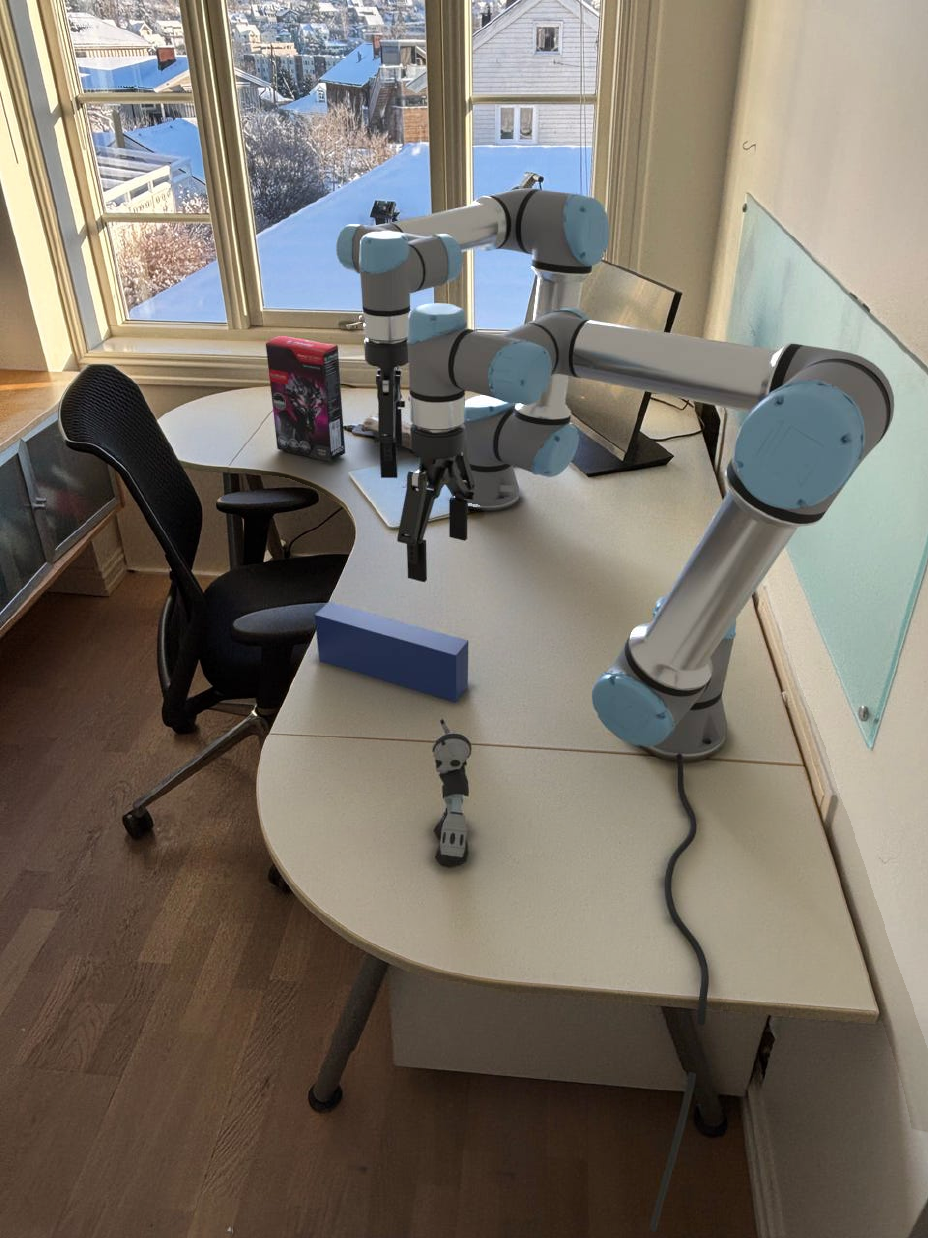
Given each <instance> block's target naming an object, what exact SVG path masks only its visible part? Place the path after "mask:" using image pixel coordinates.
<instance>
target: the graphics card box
mask: <svg viewBox="0 0 928 1238" xmlns="http://www.w3.org/2000/svg"><path fill="white" fill-rule="evenodd" d="M265 351H266V359H267V368H268V379H269V385H270V395H271V403H272V405H271V406H272V413H273V422H274V430H275V440H276V441H275V442H276V450H280V451H284V452H288V453H291V454H296V455H301V456H305V457H310V458H312V459H313V458H314V459H317V460H322V461H327V462H334V460H336V459H338V458H340V457H341V456H343V455H345V454H346V444H345V442H346V441H345V428H344V415H343V401H342V388H341V373H340V357H339V346H338V344H331V343H324V342H319V341H314V340H309V339H304V338H298V337H293V336H287V335H278V336H275V337H273V338H271V339H270V340H268V341H267V342H265Z"/></svg>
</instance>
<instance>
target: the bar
mask: <svg viewBox="0 0 928 1238" xmlns="http://www.w3.org/2000/svg"><path fill="white" fill-rule="evenodd" d="M314 621H315V633H316V643H317V652H318V661H319V662H323V663H326V664H329V665H332V666H335V667H338V668H342V669H345V670H348V671H351V672H355V673H358V674H361V675H365V676H368V677H371V678H375V679H377V680H381V681H384V682H387V683H391V684H394V685H397V686H401V687H403V688H406V689H410V690H413V691H416V692H420V693H423V694H426V695H429V696H433V697H436V698H439V699H443V700H446V701H450V702H452V703H457V702H458V701H459V699H460V698H462V695H463V694H465V693H464V692H465V691H466V690H467V689H468V687H469V639H466V638H465V639H464V638H461V637H457V636H454V635H451V634H446V633H444V632H440V631H435V630H433V629H430V628H426V627H421V626H418V625H415V624H414V625H413V624H411V623H408V622H403V621H400V620H396V619H393V618H390V617H387V616H382V615H379V614H376V613H371V612H368V611H364V610H361V609H357V608H353V607H350V606H347V605H342V604H340V603H335V602H333V601H328V602H327V603H326V604H325V605H324V606H323V607H322V608H320V609H319V610H318V611H317V612H316V613H315V614H314Z"/></svg>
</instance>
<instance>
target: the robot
mask: <svg viewBox="0 0 928 1238" xmlns="http://www.w3.org/2000/svg"><path fill="white" fill-rule="evenodd" d="M439 722H440V725H441V727H442V730H443V733H444V734H442V735H441V736H439V737H438V738H437V739H436V740H435V741H434V742H433V745H432V747H431V752H432V757H433V758H434V761H435V771H436V772H437V773H439V774H438V776H439V779H440V781H441V783H442V785H441V792H442V794H441V795H442V799H443V801H444V802H445V805H446V807H445V808H444V812H443V813H442V816H441V819H440V820H439V821H438V823H437V824H435V826H434V828H433V833H434V834H435V836H436V838H437V839H438V840H439V841H440V842H439V845H438V848H437V849H436V852H435V855H434V859H435V860H436V861H437V862H438V863H439V865H441V866H443V867H447V868H453V867H457V866H459V865H461V864H463V863H466V862H467V859H468V856H469V854H470V853H469V844H468V840H467V837H468V823H467V818H466V815H464V813H463V810H462V806H463V804H464V798H463V797H469V795H470V794H469V793H470V788H469V787H470V786H469V779H468V776H467V774H466V766H467V765H468V762H467V760H468V759H469V758H470V757H471V755H472V749H473V748H472V743H471V741H470V739H468V738H467V736H465V735H464V734H462V733H460V732H457V731H450V729H449V727H448V725H447V723H446V722H445V720H444V719H443V718H441V719H440V720H439Z"/></svg>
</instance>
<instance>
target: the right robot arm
mask: <svg viewBox="0 0 928 1238" xmlns="http://www.w3.org/2000/svg"><path fill="white" fill-rule="evenodd" d="M467 326H468V322H467V317H466V311H465V310H464V309H463V308H461V307H459V306H458V305H457V304H456V305H455V304H452V303H444V302H439V303H438V302H436V303H435V302H434V303H425V304H422V305H419V306H416V307H414V308H413V309H412V310H411V312H410V314H409V318H408V340H407V347H408V362H409V363H408V376H409V386H408V388H409V390H408V391H409V395H408V396H407V400H408V402H409V421H410V422H411V424H410V425H411V426H410V445H411V449H410V450H411V452H412V453H413V454H414V455H416V456H417V458H418V459H419V465H418V468H417V469H418V470H417V471H415V470H408V472H407V475H406V490H405V496H404V501H403V506H402V510H401V516H400V522H399V528H398V533H397V537H396V540H397V542H398V543H402V544H405V545H406V561H407V562H406V564H407V567H406V568H407V579H410V580H414V581H417V582H422V583H426V581H427V580H428V569H427V568H428V567H427V565H428V564H427V562H428V561H427V559H428V558H427V540H426V539H424V537H425V533H426V530H427V527H428V524H429V520H430V517H431V513H432V511H433V508H434V504H435V500H436V499H438V498H439V497H440V495H441V491H442V489H443V487H444V486H446V487H447V490H448V491H449V492H450V494H451V495H453V496H455V498H453V497H452V496H451V497H450V498H449V500H448V501H449V503H448V505H449V507H448V508H449V509H448V510H449V511H448V513H449V515H448V516H449V517H448V518H449V519H448V521H449V522H448V523H449V527H448V528H449V529H448V530H449V531H448V535H449V538H452V539H456V540H460V541H465V542H466V541H467V540H468V510H469V509H468V501H467V499H469V500H473V499H474V492H470V490H474V488H475V483H474V479H473V475H472V472H471V468H470V464H469V460H468V457H467V451H466V441H465V426H464V424H463V423H464V421H465V402H466V391H467V392H471V393H475V394H478V395H480V396H481V395H485V396H488V397H492V398H495V399H498V400H501V401H503V402H507V403H516V405H517V404H523V405H530V404H533V403H535V402H537V401H538V400H539V399H540V398H541V395H542V393H544V392H545V391H546V389H547V387H548V385H549V382H550V378H551V376H552V375H554V374H562V375H567V376H569V377H572V378H576V379H584V380H588V381H594V382H597V383H598V382H599V383H604V384H609V385H613V386H618V387H623V388H628V389H633V390H638V391H643V392H647V393H653V394H658V395H662V396H666V397H672V398H677V399H682V400H687V401H690V402H696V403H701V404H706V405H710V406H715V407H721V408H725V409H731V410H735V411H740V412H745V413H748V414H747V415H746V417H745V418H744V420H743V422H742V424H741V425H740V428H739V430H738V432H737V435H736V439H735V442H734V451H733V452H734V453H733V454H732V457H731V459H730V461H729V462H728V464H727V465H726V467H725V471H724V476H725V480H726V483H727V485H728V487H729V489H728V491H727V493H726V494H725V496H724V498H723V500H722V501H721V503H720V505H719V506H718V508H717V510H716V511H715V513H714V514H713V517H712V518H711V520H710V522H709V523H708V525H707V527H706V529H705V530H704V531H703V533H702V535H701V537H700V538H699V540H698V542H697V543H696V545H695V547H694V549H693V550H692V552H691V554H690V555H689V556H688V559H687V560H686V562H685V564H684V565H683V568H682V569H681V571H680V572H679V574H678V576H677V577H676V579H675V581H674V582H673V584H672V586H671V587H670V589H669V591H668V593H667V594H663V595H662V596H661V597H659V598H658V599H657V600H656V602H655V605H654V608H653V609H652V620H651V621H647V622H643V623H641V624H638V625H637V626H636V627H634V629H633V630H632V631H631V632H630V634H629V636H628V638H627V639H626V641H625V643H624V645H623V647H622V648H621V650H620V651H619V652H618V653H619V654H618V655H617V656H616V658H615V660H614V661H613V663H612V664H611V665H610V666H609V668H608V669H607V670H606V671H604V672H603V673H602V674H600V675H599V677H598V679H597V681H596V682H595V684H594V685H593V688H592V691H591V702H592V707H593V709H594V711H595V712H596V713H597V718H598V719H599V721H600V722H601V723H602V725H603V726H604V727H605V728H606V729H607V730H608V731H609V732H610V733H612V734H613V735H614V736H615V737H617V738H618V739H620V740H621V741H623V742H626V743H628V744H630V745H633V746H638V747H639V748H640V749H641V750H643V751H645V752H646V753H648V754H650V755H651V756H654V757H656V758H659V759H662V760H666V761H670V762H675V763H676V768H677V769H676V770H677V791H678V795H679V799H680V801H681V804H682V806H683V808H684V810H685V811H686V814H687V816H688V818H689V823H690V827H689V832H688V834H687V836H686V838H685V839H684V840H683V841H682V843H681V844H680V845H679V846H677V848H676V849H675V850H674V852H673V853H672V855H670V857H669V860H668V863H667V868H666V870H665V876H664V896H665V903H666V906H667V910H668V912H669V915H670V917H671V919H672V921H673V922H674V924H675V925H676V927H677V928H678V930H679V931H680V932H681V933H682V935H683V936H684V937H685V938H686V940H687V941H688V942H689V944H690V946H691V947H692V949H693V950H694V952H695V954H696V957H697V959H698V960H697V961H698V963H699V967H700V988H699V996H698V1004H697V1018H696V1021H697V1024H698V1025H699V1026H702V1027H703V1026H704V1025H705V1023H706V1013H707V1012H706V1011H707V1002H708V994H709V983H710V980H709V979H710V976H709V967H708V962H707V958H706V955H705V953H704V951H703V948H702V946H701V945H700V943H699V941H698V940H697V939H696V937H695V936H694V935H693V933H692V932H691V931H690V929H689V928H688V927H687V926H686V924H685V923H684V922H683V920H682V919H681V917H680V916H679V913H678V912H677V909H676V906H675V903H674V898H673V893H672V880H673V875H674V870H675V866H676V863H677V861H678V859H679V858H680V856H681V855H682V854H683V853H684V852H685V850H687V848H688V847H689V846H690V845H691V844H692V842H693V841H694V840H695V837H696V834H697V829H698V828H697V826H698V824H697V823H698V822H697V818H696V815H695V812H694V810H693V807H692V806H691V804H690V802H689V800H688V798H687V794H686V791H685V786H684V782H685V781H684V780H685V779H684V763H694V762H700V761H703V760H706V759H709V758H711V757H714V755H716V754H718V752H720V751H721V750H722V748H723V747H724V744H725V743H726V740H727V739H726V738H727V734H728V721H727V716H726V712H725V708H724V707H725V706H724V701H723V692H724V686H725V682H726V678H727V674H728V673H727V672H728V668H729V664H730V659H731V654H732V651H733V650H732V649H733V645H734V639H735V638H736V636H737V632H736V629H737V618H738V617H739V616H740V614H741V612H742V611H743V609H744V608H745V607H746V605H747V603H748V602H749V600H750V599H751V598H752V596H753V595H754V593H755V592H756V591H757V589H758V587H759V586H760V584H761V583H762V582H763V580H764V578H765V577H766V575H767V574H768V572H769V571H770V570H771V568H772V566H774V564H775V563H776V560H777V559H778V557H780V555H781V553H782V552H783V551H784V549H785V548H786V546H787V545H788V543H789V542H790V540H791V539H792V537H793V536H794V534H795V533H796V531H797V530H798V528H800V527H808V526H812V525H815V524H817V523H819V522H820V521H821V520H822V519H823V517H824V516H825V514H826V513H827V512H828V510H829V509H830V507H831V506H832V505H833V503H834V502H835V500H836V499H837V498H838V496H839V494H840V493H841V491H843V488H844V487H845V486H846V484H847V483H848V481H849V480H850V478H852V477H853V474H854V473H855V472H856V470H857V469H858V467H859V466H860V465H861V464H862V462H863V461H864V460H865V458H867V456H868V455H869V454H870V453H871V452H872V450H873V449H874V448H875V447H877V445H878V444H879V443H881V441H882V440H883V438H885V436H886V434H887V433H888V431H889V429H890V426H891V425H892V424H891V423H892V422H893V419H894V418H893V417H894V412H895V411H894V410H895V396H894V392H893V388H892V386H891V384H890V383H891V382H890V380H889V379H888V377H887V376H886V374H885V373H884V371H882V369H880V367H878V366H877V365H876V363H873V361H870V360H869V359H867V358H865V357H863V356H861V355H858V354H855V353H852V352H848V351H843V350H837V349H832V348H826V347H825V348H824V347H818V346H812V345H804V344H800V343H799V344H798V343H793V342H792V343H791V342H789V343H787V344H785V345H784V346H783V347H781V348H780V349H778V350H777V349H771V348H765V347H760V346H759V347H758V346H753V345H748V344H747V345H746V344H741V343H734V342H728V341H722V340H715V339H709V338H703V337H697V336H690V335H686V334H685V335H684V334H678V333H673V332H666V331H659V330H653V329H647V328H641V327H636V326H634V327H633V326H630V325H623V324H616V323H610V322H605V321H598V320H592V319H590V317H589V316H587V314H585V313H584V312H583V311H581V310H580V309H579V308H578V309H575V308H563V309H560V310H554V311H552V312H548V313H546V314H545V315H543V316H542V317H540V318H538V319H535V320H533V319H532V320H531V321H529V322H526V323H525V324H524V323H523V324H522V325H518V326H517V327H515V328H512V329H509V330H507V331H505V332H502V333H500V334H494V333H488V332H483V331H478V330H476V329H472V328H468V327H467ZM464 480H465V481H464ZM697 1074H698V1073H697V1072H692V1071H688V1076H687V1080H686V1085H685V1090H684V1095H683V1099H682V1103H681V1107H680V1112H679V1116H678V1121H677V1124H676V1128H675V1133H674V1136H673V1140H672V1144H671V1147H670V1150H669V1151H670V1152H669V1155H668V1159H667V1162H666V1166H665V1169H664V1172H663V1173H664V1174H663V1176H662V1181H661V1184H660V1188H659V1192H658V1195H657V1198H656V1203H655V1207H654V1211H653V1214H652V1218H651V1222H650V1226H649V1229H650V1231H651V1232H656V1231H657V1227H658V1225H659V1221H660V1217H661V1214H662V1213H661V1212H662V1209H663V1205H664V1201H665V1198H666V1194H667V1191H668V1187H669V1183H670V1180H671V1177H672V1173H673V1170H674V1166H675V1162H676V1159H677V1156H678V1152H679V1148H680V1146H681V1145H680V1144H681V1140H682V1136H683V1133H684V1131H685V1130H684V1129H685V1125H686V1122H687V1118H688V1113H689V1110H690V1105H691V1101H692V1096H693V1092H694V1088H695V1083H696V1079H697Z"/></svg>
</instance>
